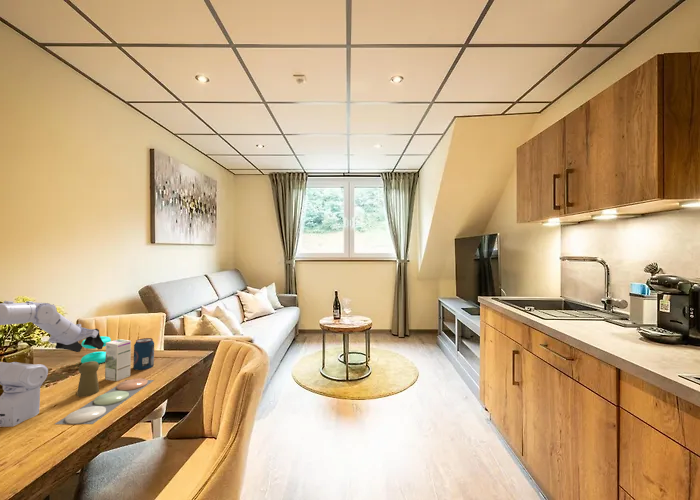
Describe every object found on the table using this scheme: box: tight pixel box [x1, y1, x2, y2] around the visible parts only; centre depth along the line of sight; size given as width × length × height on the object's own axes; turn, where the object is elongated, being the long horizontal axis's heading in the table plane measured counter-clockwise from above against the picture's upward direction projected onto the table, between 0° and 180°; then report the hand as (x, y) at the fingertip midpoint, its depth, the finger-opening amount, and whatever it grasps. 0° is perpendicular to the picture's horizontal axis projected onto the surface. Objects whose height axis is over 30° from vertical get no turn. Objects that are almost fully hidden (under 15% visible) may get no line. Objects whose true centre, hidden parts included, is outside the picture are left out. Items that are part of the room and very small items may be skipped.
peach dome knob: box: [116, 378, 149, 391], centre depth 112 cm, size 9×9×1 cm
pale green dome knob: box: [93, 391, 129, 406], centre depth 101 cm, size 9×9×1 cm
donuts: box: [80, 335, 112, 365], centre depth 137 cm, size 10×10×10 cm
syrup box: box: [104, 338, 132, 382], centre depth 118 cm, size 6×6×14 cm
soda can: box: [132, 337, 155, 371], centre depth 130 cm, size 7×7×12 cm
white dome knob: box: [64, 406, 106, 425], centre depth 91 cm, size 9×9×1 cm
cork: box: [76, 361, 100, 398], centre depth 105 cm, size 6×6×11 cm
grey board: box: [54, 379, 155, 425], centre depth 101 cm, size 30×10×1 cm, turn 3°
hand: (91, 347), depth 110 cm, fingers open, 7 cm apart
